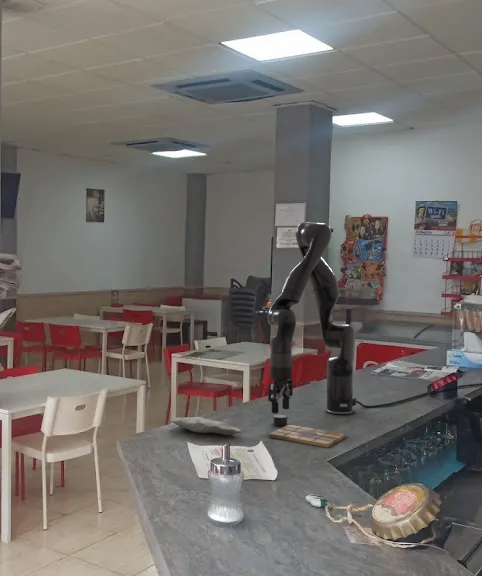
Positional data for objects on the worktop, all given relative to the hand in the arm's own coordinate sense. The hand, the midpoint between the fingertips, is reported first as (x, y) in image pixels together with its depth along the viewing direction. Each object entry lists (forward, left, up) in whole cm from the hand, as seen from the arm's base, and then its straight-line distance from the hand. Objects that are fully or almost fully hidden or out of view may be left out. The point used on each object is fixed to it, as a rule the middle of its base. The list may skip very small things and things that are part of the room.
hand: (280, 411), depth 250 cm
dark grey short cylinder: (0, 0, -5) cm, 5 cm away
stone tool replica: (+24, -15, -5) cm, 29 cm away
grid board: (+9, +14, -5) cm, 17 cm away
